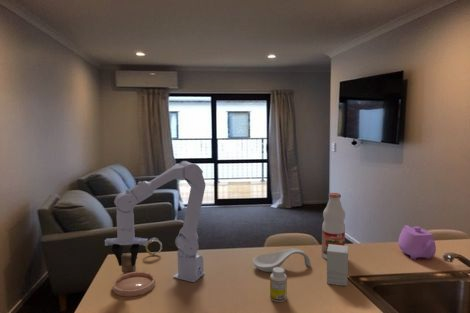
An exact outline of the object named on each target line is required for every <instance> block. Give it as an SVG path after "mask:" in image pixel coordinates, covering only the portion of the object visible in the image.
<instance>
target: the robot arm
mask: <svg viewBox="0 0 470 313" xmlns="http://www.w3.org/2000/svg"><path fill="white" fill-rule="evenodd" d="M203 172H204V171H203V169H202V168H201V167H200V166H199V165H198V164H196V163H192V162H190V161H188V160H182V161H181V162H178V163H176V164H174V165H173V166H172V167H169V169H167V170H165V171H163V173H160V174H159V175H157V176H155V178H153V179H151V180H150V181H147V180H143V181H141V180H139V181H138V182H137V184H136V185H134V186H133V187H132V188H129V189H128V188H126V190H124V192H119V193H118V194H116V196H115V198H114V200H113V203H114V206H115V207H116V216H115V217H116V231H117V233H116V235H117V237H114V238H113V237H112V238H106V239H104V246H105V247H106V246H111V252H112V253H113V254H114V256H115V258H116V261H117V264H118V266H119V267H121V255H122V254H124V246H131V247H130V248H129V250H130V253H131V257H132V266H134V265H136V264H137V257H138V254H139V251H140V249H141V246H143V247H146V246H147V244H148V241H149V238H142V237H135V235H136V234H135V214H134V209H135V207H136V205H138V204H140V203H142V202H143V201H145V200H147V199H148V198H149V197H151V196H152V195H154V193H155V190H156V189H158V188H160V187H163V186H164V185H165V184H168V183H169V182H171V181H174V180H180V181H182V180H185V181H186V183H187V184H188V186H189V187H190V190H189V195H188V200H187V205H186V210H185V215H184V219H183V226H182V227H181V228H180V229H179V233H178V235H177V236H176V238H175V241H174V243H175V244H174V245H175V246H176V247H177V253H176V254H177V273H175V274H173V278H175V279H178V280H183V281H187V282H190V283H195V282H196V281H198V280H199V279H200V278H201V277H202V276H204V275H205V272H204V258H203V257H204V256H202V255H200V254H198V252H199V248H200V246H199V234H198V232H197V231H198V226H199V220H200V215H201V211H202V205H203V199H204V194H205V191H206V190H205V189H206V182H205V178H204V175H203Z"/></svg>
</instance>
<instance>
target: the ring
mask: <svg viewBox="0 0 470 313" xmlns="http://www.w3.org/2000/svg"><path fill="white" fill-rule="evenodd" d="M153 242H157V243H158V244H159V248H160V249H159V250H158V251H157V252H151V251H150V250H149V249H148V246H149V245H150V244H151V243H153ZM162 250H163V244H162V242H161V241H160V240H159V238H157V237H152V238H150V239H148V244H147V246H145V251H146V253H147V254H148V255H149V256H150V255H151V256H153V257H154V256H156V255H159V254H160V253H161V252H162Z"/></svg>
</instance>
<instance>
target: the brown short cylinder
mask: <svg viewBox="0 0 470 313" xmlns="http://www.w3.org/2000/svg"><path fill="white" fill-rule="evenodd" d="M120 267H121V273H123V274H127V273H129V272H132V271H133V270H134V267H133V266H132V257H131V252H127V253H123V254H122V255H121V266H120Z"/></svg>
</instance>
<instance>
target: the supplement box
mask: <svg viewBox="0 0 470 313" xmlns="http://www.w3.org/2000/svg"><path fill="white" fill-rule="evenodd" d="M348 272H349V246H348V245H344V246H342V245H333V244H329V245H328V249H327V259H326V284H327V285H329V284H330V285H335V284H336V285H337V286H342V285H345V286H344V287H347V286H348V275H349V274H348Z"/></svg>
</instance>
